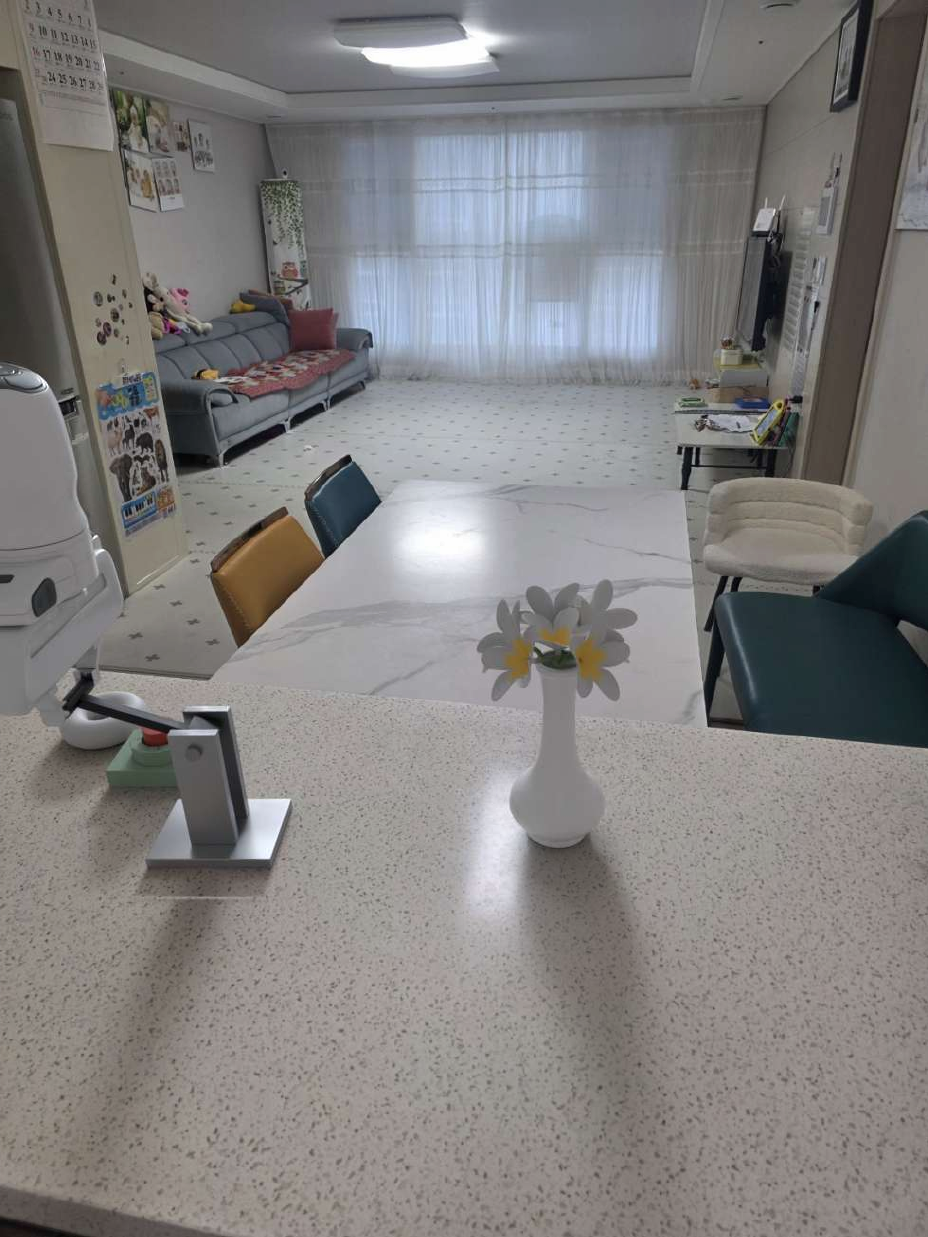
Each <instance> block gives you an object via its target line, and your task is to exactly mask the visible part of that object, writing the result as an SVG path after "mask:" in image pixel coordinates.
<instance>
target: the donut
mask: <svg viewBox="0 0 928 1237" xmlns="http://www.w3.org/2000/svg"><path fill="white" fill-rule="evenodd" d="M91 695H92V696H95V697H99V698H102V699H105V700H109V701H112V702H115V703H119V704H122V705H125V706H129V707H132V708H136V709H139V710H142V711H146V712H149V710H148V707H147V705H146V703H145V701H144V700H143V699H142V698H141V697H140V696H138V695H137V694H135V693H132V692H129V691H128V692H127V691H124V690H123V691H122V690H111V691H103V692H99V693H95V694H91ZM141 728H142V727H141V726H138V725H135V724H131V723H128V722H125V721H121V720H118V719H114V718H111V717H108V716H104V715H101V714H97V713H94V712H91V711H87V710H84V709H81V708H77V709H76V710H75V711H74V712H73V713H72V714H71V716H70V717H69V718H68V719H66V721H65V722H64V723H63V724H62V725H61V726H59V727H58V730H59V733H60V736H61V738H62V740H64V741H65V742H66V743H67V744H69V745H70V746H72V747H75V748H78V749H82V750H99V749H108V748H110V747H114V746H117V745H121V744H122V743H125V742H126V741H127V739H128V738H129V737H130V735H131V734H132V732H133V731H134V730H139V729H141Z"/></svg>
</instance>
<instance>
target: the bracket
mask: <svg viewBox="0 0 928 1237" xmlns="http://www.w3.org/2000/svg"><path fill="white" fill-rule="evenodd" d="M181 713H182V719H183V722H184V723H186V724H190V722H191V721H192V719H193V717H194V716H197V717H200V718H203V719H207V720H210V721H213V722H217V723H220V724H223V728H222V732H221V736H220V738H219V733H218V730H170V732H169V733H168V735H167V739H168V744H169V748H170V752H171V757H172V761H173V766H174V770H175V774H176V779H177V783H178V787H177V788H178V791H179V796H180V798H177V800H176V802H175V803H174V805H173V807H172V808H171V811H170V812H169V814H168V816H167V818H166V820H165V822H164V824H163V825H162V826H161V829H160V831H159V832H158V834H157V837H156V838H155V839H154V842H153V844H152V846H151V847H150V849H149V851H148V853H147V855H146V856H145V859H144V861H145V866H146V869H149V870H150V869H152V870H153V869H155V870H156V869H157V870H158V869H159V870H160V869H163V870H165V869H169V870H172V869H173V870H175V869H176V870H177V869H179V870H181V869H182V870H183V869H184V870H185V869H186V870H187V869H191V870H192V869H194V870H195V869H198V870H200V869H203V870H204V869H205V870H207V869H209V870H210V869H211V870H215V869H216V870H218V869H220V870H222V869H227V870H228V869H229V870H234V869H235V870H237V869H239V870H240V869H241V870H243V869H244V870H246V869H248V870H249V869H250V870H251V869H252V870H255V869H256V870H259V869H262V870H265V869H267V870H270V869H272V868H273V866H274V863H275V861H276V857H277V854H278V851H279V848H280V846H281V843H282V839H283V838H284V834H285V831H286V828H287V825H288V822H289V819H290V816H291V813H292V810H293V808H294V807H293V801H292V798H248V794H247V789H246V782H245V778H244V772H243V767H242V763H241V761H242V760H241V757H240V756H241V755H240V750H239V745H238V739H237V734H236V729H235V723H234V717H233V712H232V706H231V705H198V706H197V705H195V706H194V705H192V706H191V705H187V706H184V708H183V709H182V711H181Z"/></svg>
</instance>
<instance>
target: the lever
mask: <svg viewBox="0 0 928 1237" xmlns="http://www.w3.org/2000/svg"><path fill="white" fill-rule="evenodd" d="M94 688H95V686H94V685H93V682H92V681H91V680H89V679H87V678H83V679H80V680H79V681H78V683H77V684H76V683H75V685H74V686H73V687H72V688H71V689H70V690H69V691H68V692H67V694H65V696H64V697H63V698H62V699H61V701H67V704H68V711H69V712H70V715H69V717H70V716H71V714H72V713H73V712H74V711H75V710H76V709H77V708H81V709H84V710H87V711H91V712H94V713H97V714H101V715H104V716H108V717H111V718H114V719H118V720H121V721H125V722H128V723H131V724H135V725H138V726H141V727H145V728H148V729H152V730H155V731H158V732H162V733H165V734H168V733H169V732H170V730H218V733H219V738H220V736H221V732H222V728H223V724H220V723H217V722H213V721H210V720H207V719H203V718H200V717H197V716H194V717H193V719H192V721H191V722H190V724H186V723H183V722H184V721H183V722H179V721H176V720H177V719H174V718H172V719H169V718H166V717H167V716H162V715H159V714H155V713H153V712H149V711H148V712H146V711H142V710H139V709H136V708H132V707H129V706H125V705H122V704H119V703H115V702H112V701H109V700H105V699H102V698H99V697H95V696H92V695H93V694H91V692H92V691H93V690H94ZM69 717H68V718H69ZM68 718H67V719H68ZM173 719H174V720H173Z"/></svg>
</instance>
